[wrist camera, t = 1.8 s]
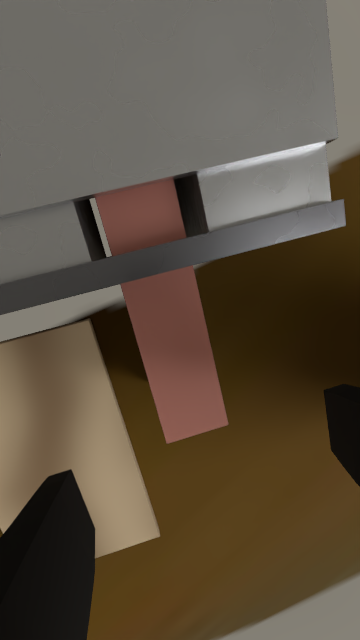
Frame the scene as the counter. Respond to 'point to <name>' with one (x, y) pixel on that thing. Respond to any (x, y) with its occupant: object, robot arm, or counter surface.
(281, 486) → the counter surface
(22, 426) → the tan flat rectangular panel
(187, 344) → the pink rectangular block
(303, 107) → the dispenser
